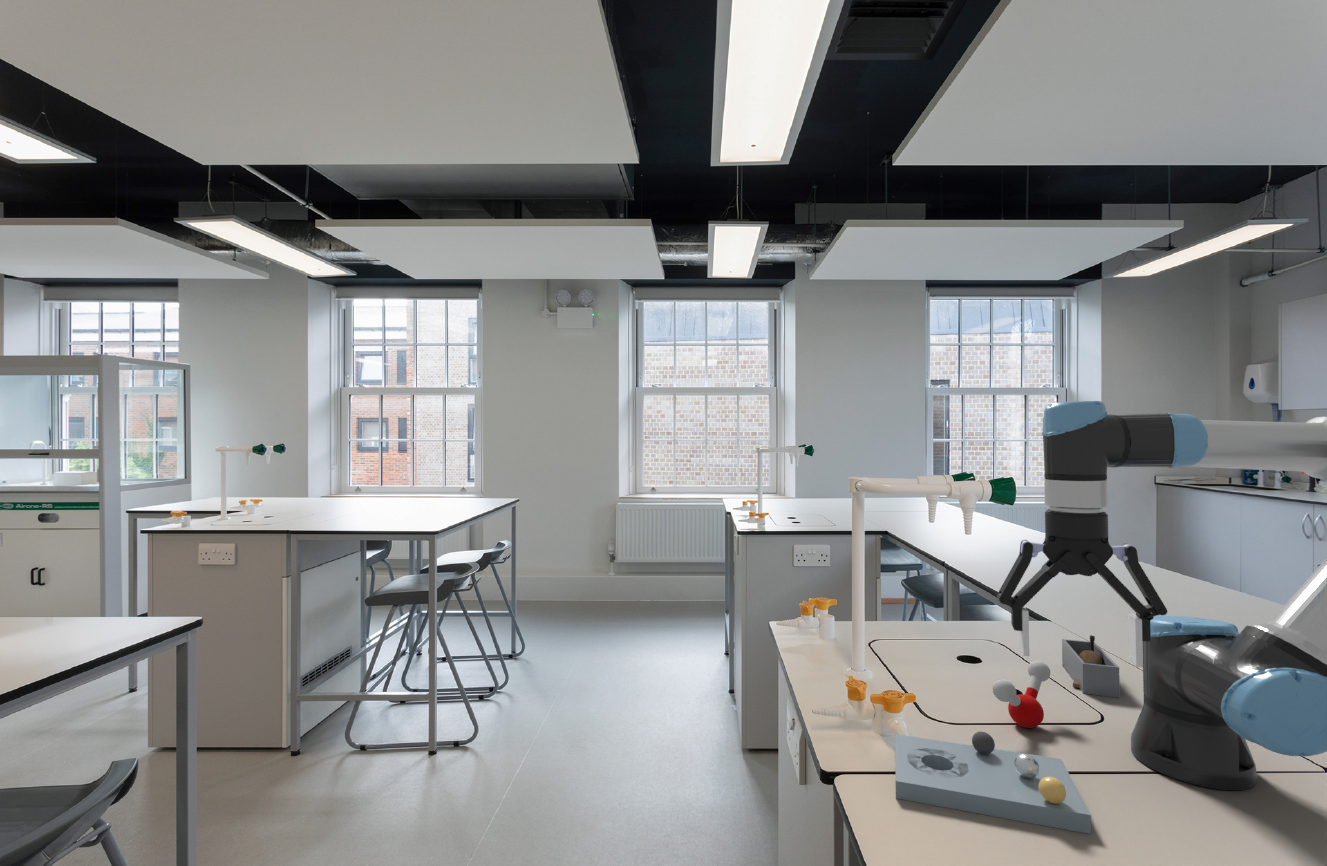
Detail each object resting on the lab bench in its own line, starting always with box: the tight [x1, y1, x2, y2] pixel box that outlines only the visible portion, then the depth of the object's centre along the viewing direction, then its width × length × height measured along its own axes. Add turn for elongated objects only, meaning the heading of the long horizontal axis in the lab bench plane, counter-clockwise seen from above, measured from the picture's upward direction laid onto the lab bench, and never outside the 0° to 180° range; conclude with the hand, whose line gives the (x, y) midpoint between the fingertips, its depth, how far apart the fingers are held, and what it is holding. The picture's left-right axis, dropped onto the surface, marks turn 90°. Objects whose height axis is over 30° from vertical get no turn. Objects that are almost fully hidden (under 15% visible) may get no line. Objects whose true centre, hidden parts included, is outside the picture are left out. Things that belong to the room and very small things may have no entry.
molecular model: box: [991, 660, 1051, 729], centre depth 111 cm, size 18×6×10 cm, turn 133°
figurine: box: [1072, 634, 1102, 689], centre depth 131 cm, size 14×4×9 cm, turn 140°
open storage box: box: [1061, 638, 1121, 699], centre depth 131 cm, size 6×16×6 cm, turn 160°
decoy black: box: [971, 731, 996, 754], centre depth 97 cm, size 3×3×3 cm
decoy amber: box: [1039, 777, 1066, 804], centre depth 84 cm, size 3×3×3 cm
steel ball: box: [1014, 753, 1040, 779], centre depth 90 cm, size 3×3×3 cm
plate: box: [894, 733, 1092, 835], centre depth 92 cm, size 24×15×2 cm, turn 70°
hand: (1078, 658), depth 88 cm, fingers open, 13 cm apart
